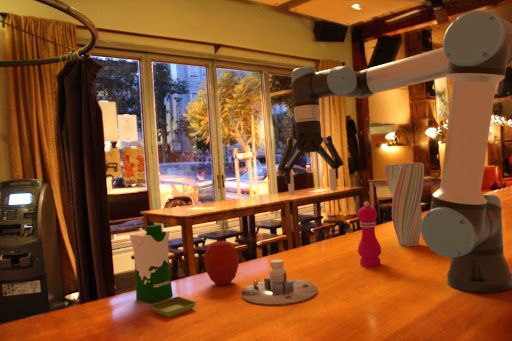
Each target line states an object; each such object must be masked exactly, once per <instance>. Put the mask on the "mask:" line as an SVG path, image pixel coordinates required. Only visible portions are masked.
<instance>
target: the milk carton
mask: <svg viewBox="0 0 512 341" xmlns="http://www.w3.org/2000/svg"><path fill="white" fill-rule="evenodd" d="M162 227H163V226H162V224H150V225H146V226H145V229H146V231H142V232H137V233H132V234H129V239H130V241H131V245H132V249H133V250H132V251H133V257H134V258H133V260H134V271H135V273H134V274H135V286H136V287H135V293H136V295H135V297H136V298H135V300H137V301H141V302H145V303H149V304H151V305H152V304H155V303H158V302H161V301H164V300H167V299H170V298H171V297H172V298H173V296H174V295H173V294H174V293H173V288H172V287H173V286H172V280H171V269H170V258H169V257H170V255H169V254H170V253H169V239H170V237H169V236H170V231H169V230H168V231H167V230H163V229H162Z"/></svg>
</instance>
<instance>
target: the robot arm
mask: <svg viewBox="0 0 512 341" xmlns="http://www.w3.org/2000/svg"><path fill="white" fill-rule="evenodd" d="M511 64H512V22H511V21H508V20H506V19H504V18H502V17H501V16H500V15H499V14H497V13H495V12H492V11H486V10H480V9H477V10H471V11H468V12H465V13H463V14H461V15H459V16H458V17H457V18H455V20H453V21H452V22H451V23H450V24H449V25H448V27H447V29H446V31H445V33H444V36H443V40H442V47H439V48H435V49H433V50H429V51H426V52H425V51H424V52H422V53H419V54H416V55H411V56H409V57H405V58H400V59H398V60H394V61H390V62H387V63H384V64H379V65H377V66H373V67H369V68H366V69H363V70H359V71H355V70H354V69H352V67H351V66H349V65H344V66H343V65H342V66H335V67H332V68H329V69H325V70H321V71H317V68H315V67H313V66H303V67H298V68H294V69H293V70H292V72H291V91H292V100H293V114H294V115H293V116H294V121H295V123H294V125H295V126H294V128H295V129H294V130H295V138H292V137H291V138H287V139H286V140H285V147H284V150H283V154H282V155H281V159H280V161H279V164H278V167H277V171H278V172H282V173H283V175H284V182H285V184H287V188H288V195H289V196H295V194H296V193H295V182H294V181H295V180H294V172H291V171H292V170H293V168H294V166H295V165H296V164H297V162H298V161H299V159H300V158H301V156H302V155H303V154H306V153H307V154H308V153H317V154H318V155H320V157H321V158H322V159H323V160H324V161H325V162H326V163H327V164H328V166H330V168H328V172H329V173H328V176H329V186H330V189H329V190H330V191H335V192H336V191H338V189H337V188H338V187H337V180H338V179H339V169H340V167H342V166H344V161H343V160H342V158H341V156H340V154H339V152H338V150H337V148H336V147H335V145H334V143H333V138H332V136H331V135H327V136H324V137H322V125H321V121H320V119H321V112H320V99H323V98H325V99H326V98H329V97H343V98H356V99H360V100H361V99H367V98H370V97H372V96H373V95H376V94H379V93H382V92H383V93H384V92H387V91H391V90H397V89H400V88H405V87H408V86H413V85H417V84H422V83H425V82H430V81H434V80H438V79H442V78H443V79H445V78H448V79H449V80H450V81H451V83H452V89H451V90H452V91H451V100H450V107H449V116H448V120H447V121H448V123H447V131H446V139H445V145H444V146H445V147H444V155H443V162H442V169H441V170H442V171H441V177H440V185H439V186H440V187H439V188H437V189H436V190H435V191H433V192H432V194H431V200H430V207H429V208H430V209H429V211H428V212H426V213H425V214H424V215H423V216H422V222H421V233H420V236H421V237H422V240H423V242H424V243H425V244H426V246H427V247H428V248H429V249H430V250H431V251H432V252H434V253H435V254H437V255H439V256H441V257H445V258H451V260H450V262H449V263H450V264H449V269H448V271H447V273H446V278H447V279H446V281H447V284H448V285H449V286H450V287H452V288H454V289H457V290H462V291H466V292H472V293H473V292H474V293H499V292H500V293H501V292H506V291H509V290H511V289H512V273H511V270H510V267H509V265H508V262H507V260H506V257H505V254H504V253H505V252H504V238H503V215H502V214H503V213H502V211H503V208H502V204H501V199H500V197H499V196H498V195H496V194H482V192H481V191H482V186H483V185H482V184H483V179H484V172H485V166H486V158H487V157H486V156H487V151H488V150H487V149H488V144H489V136H490V135H489V134H490V129H491V121H492V114H493V108H494V100H495V95H496V94H495V93H496V87H497V85H498V84H499V83H500V82H502V81H503V80H504V79H505V78H506V73H507V67H509V66H511ZM322 143H324V144H325V146H326V149H327V150H328V152H329V153H328V152H327V151H326V149H325V148H324V147H323V146H322ZM324 144H323V145H324ZM295 145H296V146H297V148H296V150H294V154H293V155H292V157H291V158H290V156H291V153H292V151H293V147H294V146H295ZM289 158H290V159H289Z"/></svg>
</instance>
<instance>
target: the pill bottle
mask: <svg viewBox="0 0 512 341" xmlns="http://www.w3.org/2000/svg"><path fill="white" fill-rule="evenodd" d="M284 262H285V261H284V260H283V259H278V258H277V259H271V261H270V270H269V277H270V285H271V290H272V283H280V282H285V281H287V279H288V278H287V270H286V268H285V265H284V264H285V263H284Z"/></svg>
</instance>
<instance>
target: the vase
mask: <svg viewBox="0 0 512 341" xmlns="http://www.w3.org/2000/svg"><path fill="white" fill-rule="evenodd" d="M384 172H385V177H386V182H387V185H388V189H389V193H390V194H391V198H392V200H391V203H392V204H391V218H392V224H393V228H394V233H395V235H396V239H397V242H398V246H403V247H413V246H419V244H420V237H421V222H422V219H423V214H422V211H423V210H422V206H421V199H422V196H423V195H422V194H423V191H424V190H423V189H424V181H425V180H424V179H425V178H424V177H425V164H424V163H422V162H405V163H393V164H392V163H390V164H386V165H385V166H384Z"/></svg>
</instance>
